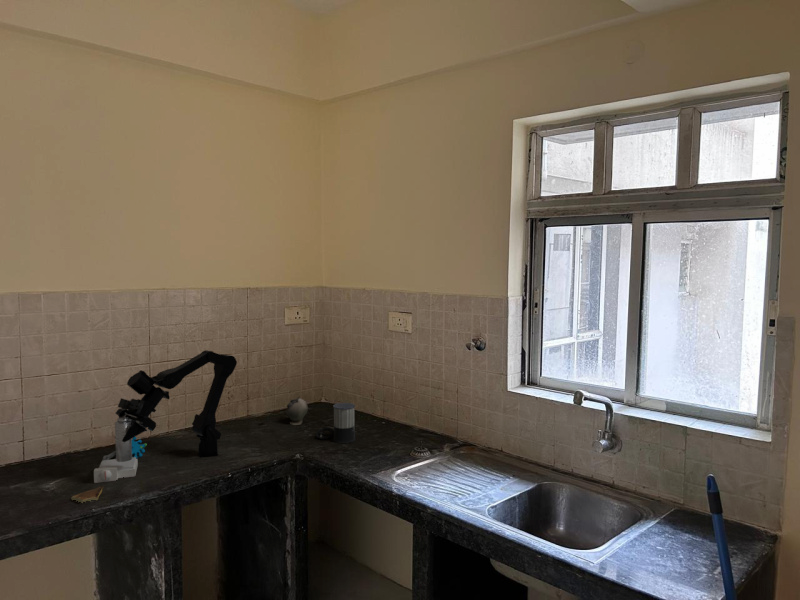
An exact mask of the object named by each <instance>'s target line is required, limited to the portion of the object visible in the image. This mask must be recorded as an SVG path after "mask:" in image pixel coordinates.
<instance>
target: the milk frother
mask: <svg viewBox="0 0 800 600" xmlns="http://www.w3.org/2000/svg"><path fill="white" fill-rule="evenodd" d="M332 406H333V428H331V427H327V426H326V427H325V426H324V427H322V428H320V429H318V430H317V431H316V433H315V436H316V438H317V439H320V440H328V439H330V438H332V437H333V442H335V443H338V444H349V443H353V442H355V441H356V433H355V431H356V427H355V423H356V422H355V407H356V405H355V404H354V403H351V402H338V403H335V404H333V405H332ZM325 431H327V432H329V433H330V434H329V435H326V436H325V435H324V432H325Z"/></svg>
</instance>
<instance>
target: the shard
mask: <svg viewBox="0 0 800 600" xmlns="http://www.w3.org/2000/svg"><path fill="white" fill-rule="evenodd" d="M103 489H104V485H102V486H99V487H96V488H93V489H88V490H87V491H83V492H81V493H80V492H79V493H78V494H75V495H72V496H71V499H70V500H71V501H73V500H76V501H75V502H77V501H78V502H77V503H79V502H81V503H82V504H84V503H83V502H85V503H87V502H86V501H90V502H92V501H91V500H96V501H98V500H99V497H100V495H101V494H102V493H103ZM81 503H80V504H81Z"/></svg>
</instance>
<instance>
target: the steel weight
mask: <svg viewBox="0 0 800 600" xmlns="http://www.w3.org/2000/svg"><path fill="white" fill-rule="evenodd" d="M130 427H131V421H128V417H122V418H119V417H117V419H116V422H114V435H115V436H114V441H115V451H116V455H115V459H116V461H117V462H125V461H129V460H131V459H132V457H133V454H132V441H131V440H132V438H131V439H130V440H128V441H126V442H123V441H122V440H123V438H124V436H125V435H126V433H127V431H128V430H129V428H130Z"/></svg>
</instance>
